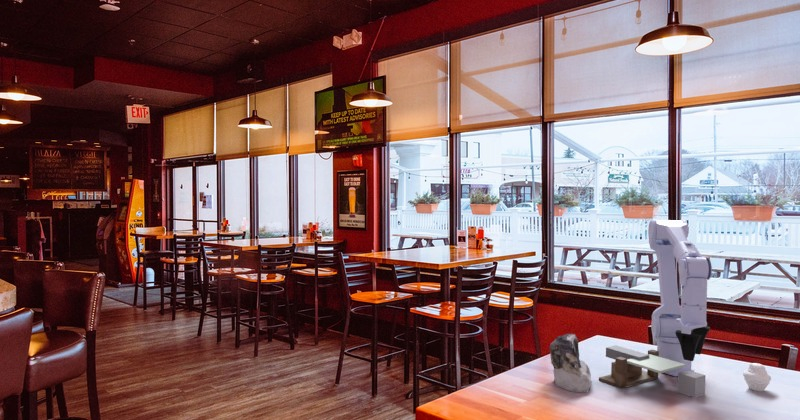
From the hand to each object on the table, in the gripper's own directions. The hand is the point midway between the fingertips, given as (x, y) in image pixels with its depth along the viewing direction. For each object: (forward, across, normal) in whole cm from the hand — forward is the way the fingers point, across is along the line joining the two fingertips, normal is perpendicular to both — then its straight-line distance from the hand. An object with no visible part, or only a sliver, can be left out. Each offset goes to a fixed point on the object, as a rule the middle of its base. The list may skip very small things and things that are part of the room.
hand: (692, 356), depth 137 cm
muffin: (+10, -15, +12) cm, 22 cm away
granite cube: (+9, 0, 0) cm, 9 cm away
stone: (+10, +15, -26) cm, 31 cm away
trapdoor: (+4, +1, -12) cm, 13 cm away
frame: (+9, 0, -15) cm, 18 cm away
